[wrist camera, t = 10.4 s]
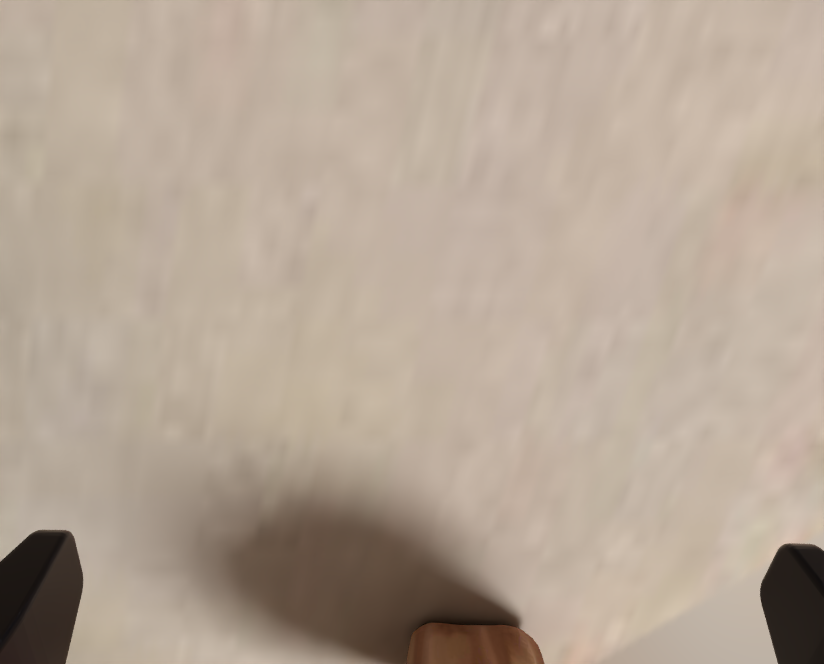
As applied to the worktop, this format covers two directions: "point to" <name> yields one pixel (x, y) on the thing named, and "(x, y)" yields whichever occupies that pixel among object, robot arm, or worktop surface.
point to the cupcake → (472, 645)
